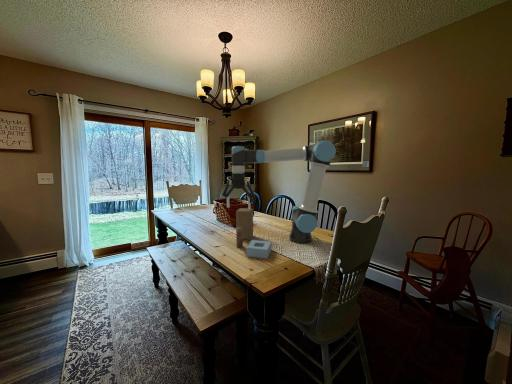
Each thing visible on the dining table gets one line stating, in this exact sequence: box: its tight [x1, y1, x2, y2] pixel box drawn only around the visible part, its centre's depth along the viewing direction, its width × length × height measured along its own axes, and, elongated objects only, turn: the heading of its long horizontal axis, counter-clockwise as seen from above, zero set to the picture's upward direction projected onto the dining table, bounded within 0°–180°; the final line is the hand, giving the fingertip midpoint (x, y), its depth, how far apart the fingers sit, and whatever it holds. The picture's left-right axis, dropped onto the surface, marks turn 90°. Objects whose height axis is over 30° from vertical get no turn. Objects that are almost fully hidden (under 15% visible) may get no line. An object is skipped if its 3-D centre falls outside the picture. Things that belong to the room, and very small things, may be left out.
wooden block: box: [235, 207, 254, 241], centre depth 143 cm, size 10×10×20 cm
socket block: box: [245, 239, 272, 259], centre depth 118 cm, size 12×12×5 cm
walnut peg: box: [235, 227, 244, 249], centre depth 127 cm, size 4×4×12 cm
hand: (238, 208), depth 125 cm, fingers open, 13 cm apart
